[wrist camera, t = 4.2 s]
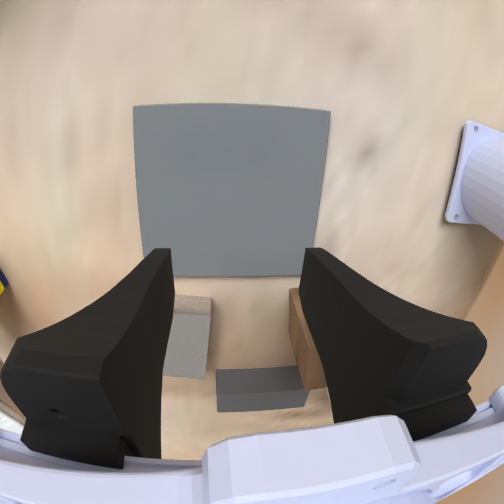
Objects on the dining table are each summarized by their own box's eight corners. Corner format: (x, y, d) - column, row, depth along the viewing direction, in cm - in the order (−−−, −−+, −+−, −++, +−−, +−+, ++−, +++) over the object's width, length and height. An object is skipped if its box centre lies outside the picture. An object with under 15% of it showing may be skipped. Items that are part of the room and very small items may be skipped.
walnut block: (347, 281, 23) (377, 335, 18) (340, 324, 26) (364, 378, 20) (289, 288, 23) (308, 348, 18) (288, 332, 25) (304, 390, 20)
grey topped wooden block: (143, 288, 22) (137, 309, 20) (211, 294, 23) (211, 315, 21) (148, 352, 26) (144, 373, 24) (205, 357, 26) (205, 378, 24)
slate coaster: (327, 110, 17) (330, 111, 16) (305, 270, 22) (307, 275, 22) (135, 105, 16) (133, 106, 15) (147, 271, 21) (146, 276, 21)
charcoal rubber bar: (302, 363, 28) (309, 388, 25) (297, 382, 29) (303, 406, 27) (215, 367, 27) (216, 394, 24) (216, 386, 29) (217, 412, 26)
